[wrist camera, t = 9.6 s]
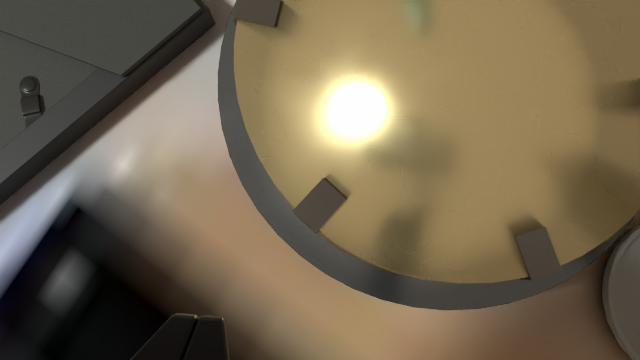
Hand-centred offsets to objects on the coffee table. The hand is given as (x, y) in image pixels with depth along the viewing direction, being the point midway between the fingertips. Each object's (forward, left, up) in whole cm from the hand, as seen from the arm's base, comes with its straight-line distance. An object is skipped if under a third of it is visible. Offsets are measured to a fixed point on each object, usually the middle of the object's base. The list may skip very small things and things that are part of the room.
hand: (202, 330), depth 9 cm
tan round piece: (+10, 0, -10) cm, 14 cm away
